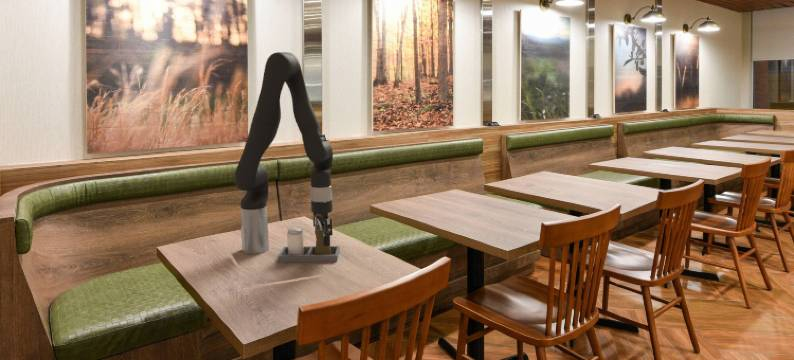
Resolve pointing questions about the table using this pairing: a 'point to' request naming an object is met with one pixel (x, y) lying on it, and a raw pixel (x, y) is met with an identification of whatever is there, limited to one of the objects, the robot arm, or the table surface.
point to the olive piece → (321, 244)
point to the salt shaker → (295, 241)
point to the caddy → (309, 255)
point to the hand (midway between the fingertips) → (323, 242)
